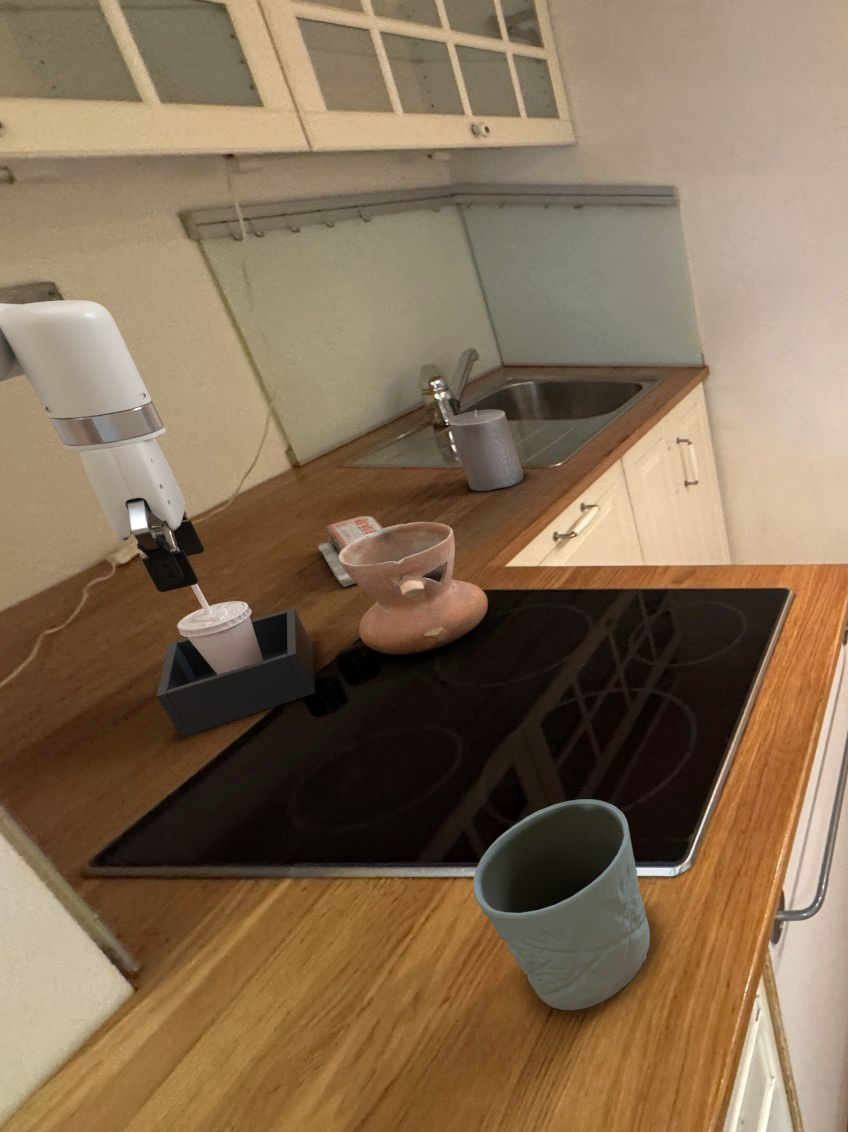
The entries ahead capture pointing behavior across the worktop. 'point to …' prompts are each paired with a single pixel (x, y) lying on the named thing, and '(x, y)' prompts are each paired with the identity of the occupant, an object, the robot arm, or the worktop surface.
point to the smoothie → (222, 634)
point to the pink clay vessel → (412, 588)
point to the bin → (238, 677)
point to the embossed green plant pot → (567, 901)
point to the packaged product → (345, 542)
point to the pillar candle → (486, 449)
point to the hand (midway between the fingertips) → (183, 570)
